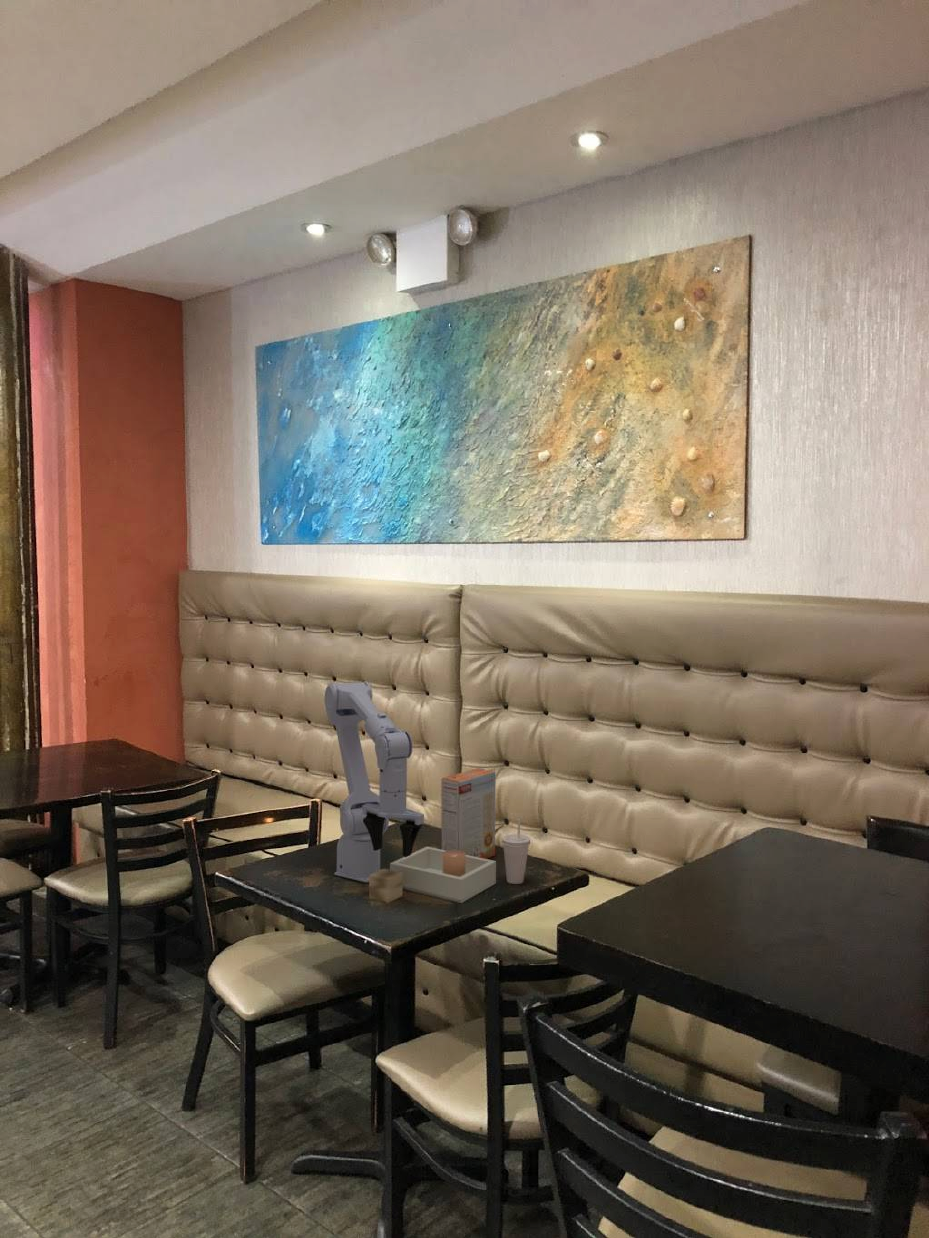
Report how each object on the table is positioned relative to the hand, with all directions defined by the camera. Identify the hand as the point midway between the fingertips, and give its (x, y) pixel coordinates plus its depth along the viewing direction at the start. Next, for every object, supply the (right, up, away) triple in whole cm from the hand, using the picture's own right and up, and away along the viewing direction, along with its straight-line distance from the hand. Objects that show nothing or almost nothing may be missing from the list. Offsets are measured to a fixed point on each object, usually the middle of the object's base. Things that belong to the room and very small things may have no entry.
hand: (392, 852), depth 201 cm
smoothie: (+27, -9, +11) cm, 30 cm away
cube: (-1, -10, 0) cm, 10 cm away
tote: (+11, -9, +8) cm, 16 cm away
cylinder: (+13, -9, +6) cm, 17 cm away
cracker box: (+16, -8, +25) cm, 31 cm away
